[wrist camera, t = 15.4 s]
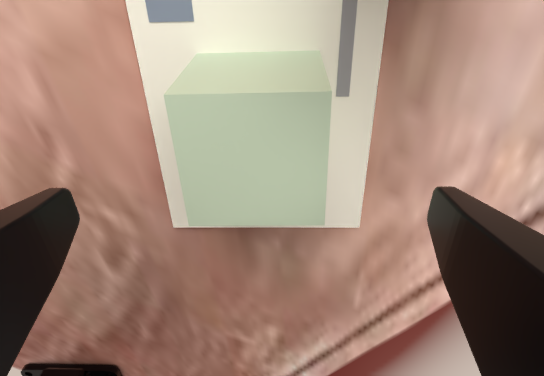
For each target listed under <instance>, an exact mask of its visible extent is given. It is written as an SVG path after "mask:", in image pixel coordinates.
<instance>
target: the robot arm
mask: <svg viewBox="0 0 544 376" xmlns="http://www.w3.org/2000/svg"><path fill="white" fill-rule="evenodd" d="M79 221H80V217H79V213H78V210H77V207H76V205H75V202H74V199H73V197H72V194H71V192H70V191H69V190H68V189H66V188H49V189H47V190H45V191H42V192H40V193H38V194H36V195H33V196H31V197H29V198H27V199H24V200H22V201H20V202H18V203H15V204H13V205H11V206H9V207H6V208H4V209H2V210H0V376H7V375H8V373H9V371H10V369H11V367H12V365H13V363H14V361H15V359H16V357H17V356H18V354H19V352H20V350H21V348H22V346H23V344H24V342H25V340H26V338H27V336H28V334H29V332H30V330H31V329H32V327H33V325H34V323H35V321H36V319H37V317H38V315H39V313H40V311H41V309H42V307H43V305H44V303H45V302H46V300H47V298H48V296H49V294H50V292H51V290H52V288H53V286H54V284H55V282H56V280H57V278H58V276H59V274H60V271H61V269H62V267H63V264H64V262H65V259H66V256H67V254H68V251H69V249H70V246H71V243H72V241H73V238H74V236H75V233H76V230H77V228H78V225H79ZM427 222H428V227H429V230H430V234H431V238H432V242H433V246H434V249H435V253H436V257H437V261H438V265H439V268H440V272H441V275H442V278H443V281H444V284H445V286H446V289H447V291H448V294H449V296H450V299H451V301H452V304H453V306H454V309H455V311H456V313H457V316H458V318H459V321H460V323H461V326H462V328H463V331H464V333H465V336H466V338H467V341H468V343H469V346H470V348H471V351H472V353H473V356H474V358H475V361H476V363H477V366H478V368H479V371H480V373H481V376H544V235H542V234H541V233H539V232H537V231H535V230H533V229H531V228H529V227H528V226H526V225H524V224H522V223H520V222H518V221H516V220H515V219H513V218H511V217H509V216H507V215H505V214H503V213H502V212H500V211H498V210H496V209H494V208H492V207H490V206H489V205H487V204H485V203H483V202H481V201H479V200H478V199H476V198H474V197H472V196H470V195H468V194H466V193H465V192H463V191H461V190H459V189H457V188H455V187H437V188H435V190H434V191H433V195H432V199H431V203H430V207H429V211H428V216H427ZM21 374H22V376H121V373H120V371H119V369H118V368H117V367H115V366H110V365H51V364H27V365H25V366H24V368H23V369H22V371H21Z"/></svg>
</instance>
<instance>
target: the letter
mask: <svg viewBox="0 0 544 376" xmlns="http://www.w3.org/2000/svg"><path fill="white" fill-rule="evenodd" d="M125 1H126V6H127V11H128V16H129V20H130V25H131V30H132V34H133V39H134V44H135V49H136V53H137V58H138V63H139V67H140V72H141V77H142V82H143V86H144V91H145V96H146V100H147V105H148V110H149V115H150V119H151V124H152V129H153V133H154V138H155V143H156V148H157V152H158V157H159V162H160V166H161V171H162V176H163V181H164V185H165V190H166V195H167V199H168V204H169V209H170V214H171V218H172V223H173V228H359V227H360V219H361V211H362V203H363V196H364V188H365V180H366V172H367V165H368V157H369V149H370V141H371V134H372V126H373V118H374V110H375V103H376V95H377V87H378V79H379V72H380V64H381V56H382V48H383V40H384V33H385V25H386V17H387V9H388V2H389V0H125ZM315 50H320V54H321V57H322V60H323V63H324V67H325V70H326V73H327V77H328V80H329V83H330V86H331V90H332V101H331V119H330V137H329V155H328V173H327V191H326V209H325V225H313V226H189V224H188V219H187V214H186V209H185V204H184V198H183V193H182V188H181V183H180V178H179V172H178V167H177V162H176V157H175V152H174V146H173V141H172V136H171V131H170V126H169V120H168V115H167V110H166V105H165V100H164V94H165V92H166V91H167V90H168V89H169V87H170V86H171V85H172V84H173V82H174V81H175V80H176V79H177V77H178V76H179V75H180V74H181V72H182V71H183V70H184V69H185V68H186V66H187V65H188V64H189V63H190V61H191V60H192V59H193V58H194V56H195V55H196V54H197V53H235V52H275V51H315Z"/></svg>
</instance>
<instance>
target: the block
mask: <svg viewBox="0 0 544 376" xmlns="http://www.w3.org/2000/svg"><path fill="white" fill-rule="evenodd" d="M164 100H165V105H166V110H167V115H168V120H169V126H170V131H171V136H172V141H173V146H174V152H175V157H176V162H177V167H178V172H179V178H180V183H181V188H182V193H183V198H184V204H185V209H186V214H187V219H188V224H189V226H313V225H325V209H326V191H327V173H328V155H329V137H330V119H331V101H332V90H331V86H330V83H329V80H328V77H327V73H326V70H325V67H324V63H323V60H322V57H321V54H320V50H315V51H275V52H235V53H197V54H196V55H195V56H194V58H193V59H192V60H191V61H190V63H189V64H188V65H187V66H186V68H185V69H184V70H183V71H182V72H181V74H180V75H179V76H178V77H177V79H176V80H175V81H174V82H173V84H172V85H171V86H170V87H169V89H168V90H167V91H166V92H165V94H164Z"/></svg>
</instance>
